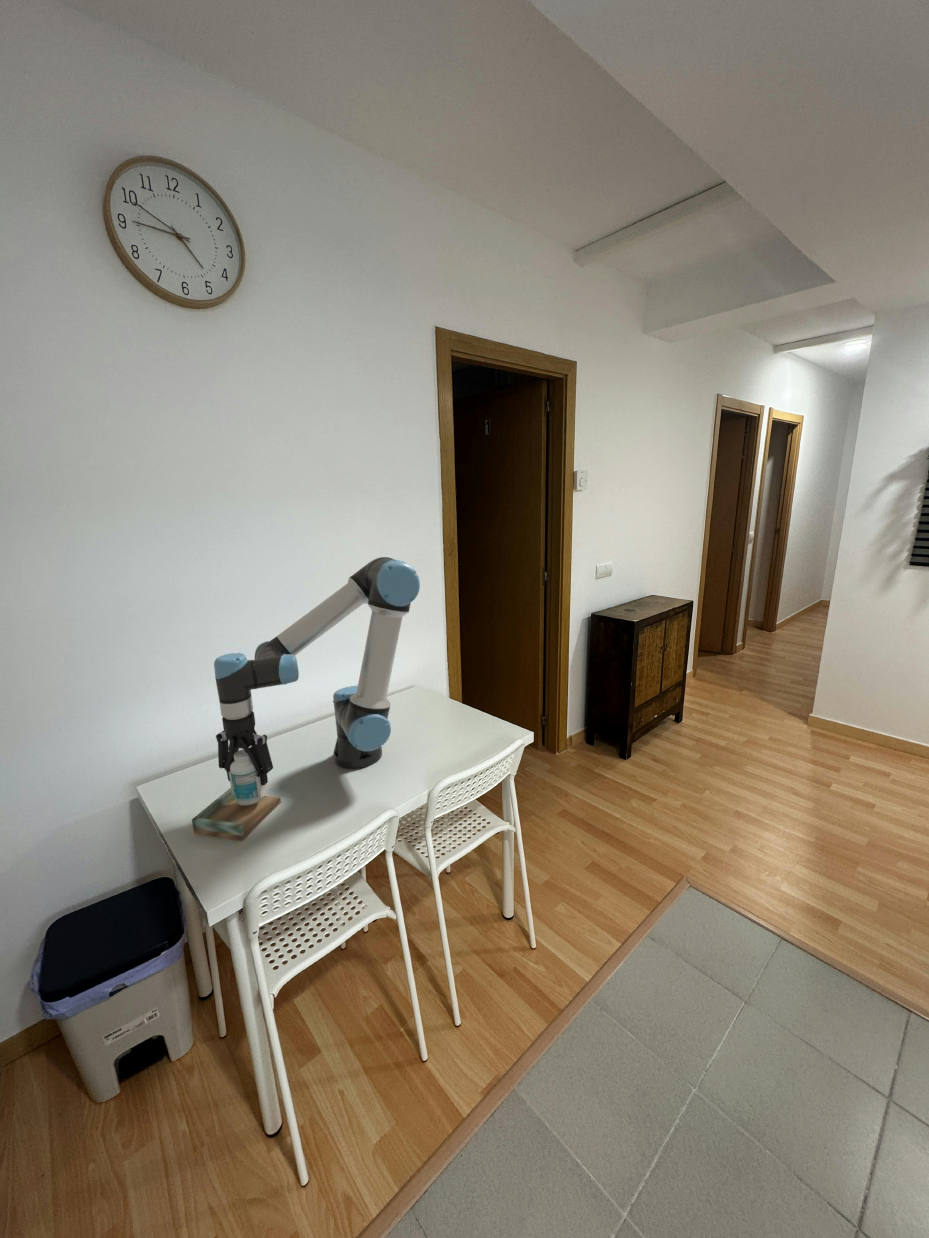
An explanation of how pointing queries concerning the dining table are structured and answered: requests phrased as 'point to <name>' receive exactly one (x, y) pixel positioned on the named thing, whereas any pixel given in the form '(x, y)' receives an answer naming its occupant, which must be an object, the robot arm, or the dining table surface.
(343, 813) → the dining table surface
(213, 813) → the rail board
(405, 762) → the dining table surface
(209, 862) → the dining table surface
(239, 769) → the pill bottle
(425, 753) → the dining table surface
